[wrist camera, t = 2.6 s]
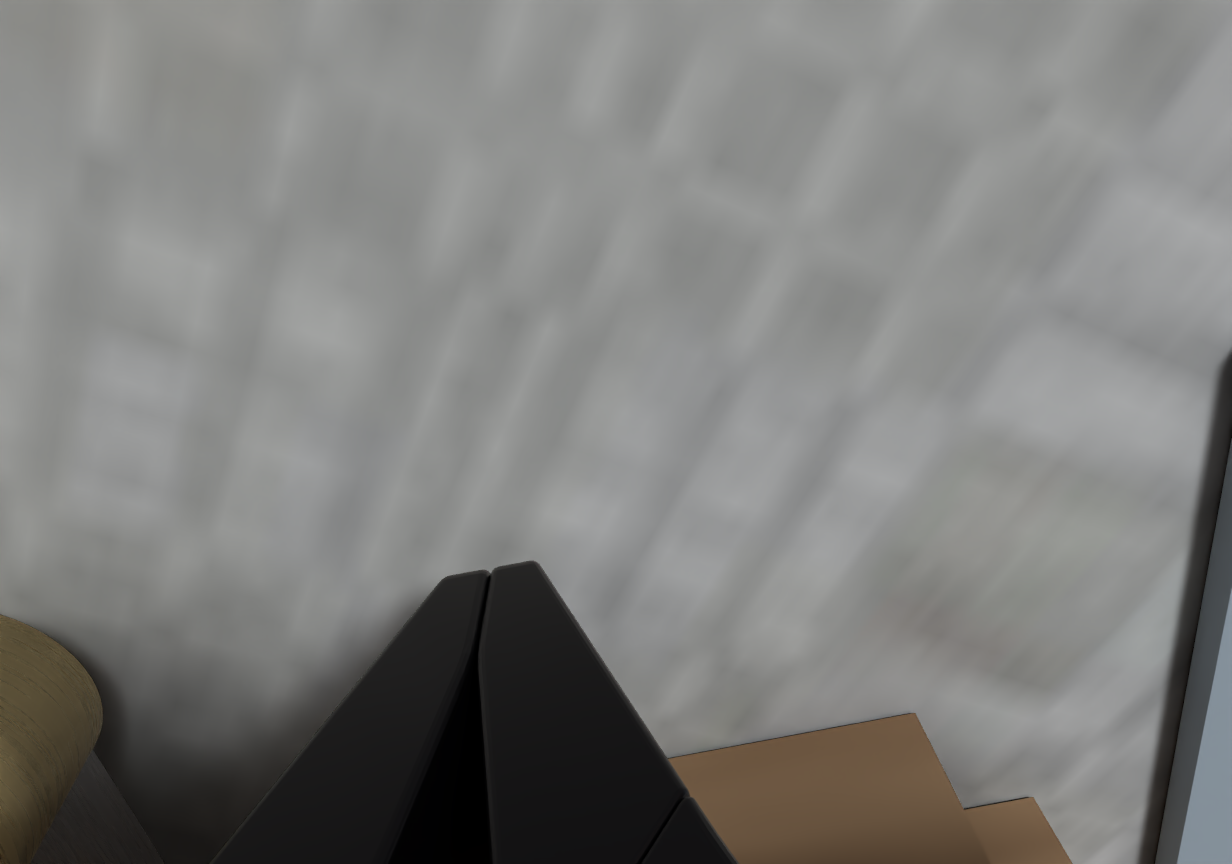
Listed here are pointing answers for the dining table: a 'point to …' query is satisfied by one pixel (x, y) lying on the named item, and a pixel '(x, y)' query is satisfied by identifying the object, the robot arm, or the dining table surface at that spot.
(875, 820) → the wooden angled piece
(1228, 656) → the pad
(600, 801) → the robot arm
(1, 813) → the lever
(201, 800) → the dining table surface
